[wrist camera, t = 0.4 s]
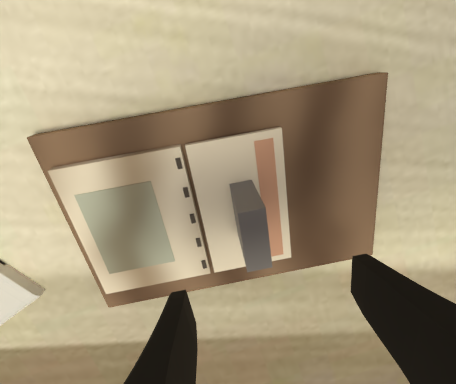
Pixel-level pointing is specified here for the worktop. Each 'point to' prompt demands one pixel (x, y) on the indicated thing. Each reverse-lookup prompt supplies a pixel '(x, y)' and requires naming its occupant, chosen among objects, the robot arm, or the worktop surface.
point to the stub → (242, 198)
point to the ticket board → (186, 195)
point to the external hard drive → (15, 292)
